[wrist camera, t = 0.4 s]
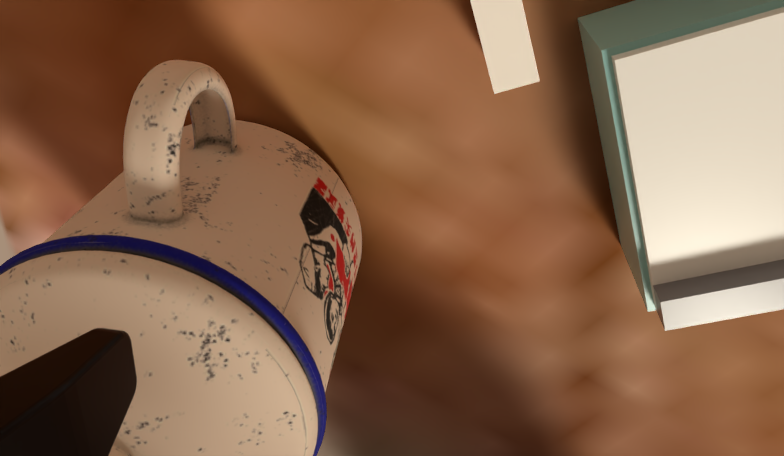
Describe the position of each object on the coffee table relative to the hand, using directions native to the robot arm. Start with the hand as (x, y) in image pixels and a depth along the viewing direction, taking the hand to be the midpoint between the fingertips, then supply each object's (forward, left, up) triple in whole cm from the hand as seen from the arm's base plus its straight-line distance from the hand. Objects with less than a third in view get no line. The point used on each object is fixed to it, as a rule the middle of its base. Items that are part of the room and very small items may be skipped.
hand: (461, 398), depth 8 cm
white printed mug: (-1, +8, -14) cm, 16 cm away
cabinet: (-3, -7, -14) cm, 15 cm away
